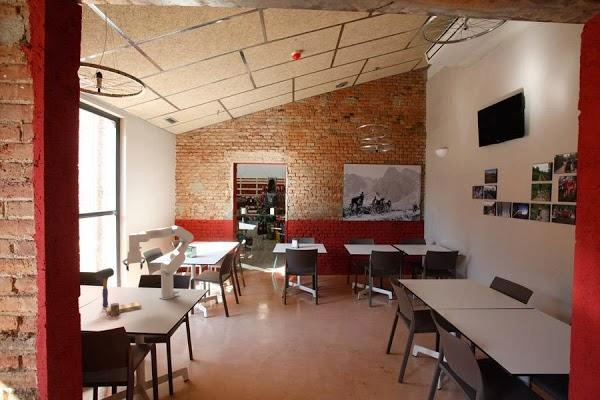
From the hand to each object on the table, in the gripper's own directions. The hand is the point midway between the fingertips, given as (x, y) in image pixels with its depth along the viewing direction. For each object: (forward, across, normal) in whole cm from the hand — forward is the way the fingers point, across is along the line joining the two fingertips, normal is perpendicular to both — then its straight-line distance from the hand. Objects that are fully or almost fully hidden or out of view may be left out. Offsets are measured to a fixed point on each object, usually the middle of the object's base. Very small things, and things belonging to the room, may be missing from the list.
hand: (134, 269), depth 259 cm
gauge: (+28, +16, +10) cm, 34 cm away
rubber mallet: (+28, +20, -9) cm, 36 cm away
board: (+28, +9, +7) cm, 31 cm away
